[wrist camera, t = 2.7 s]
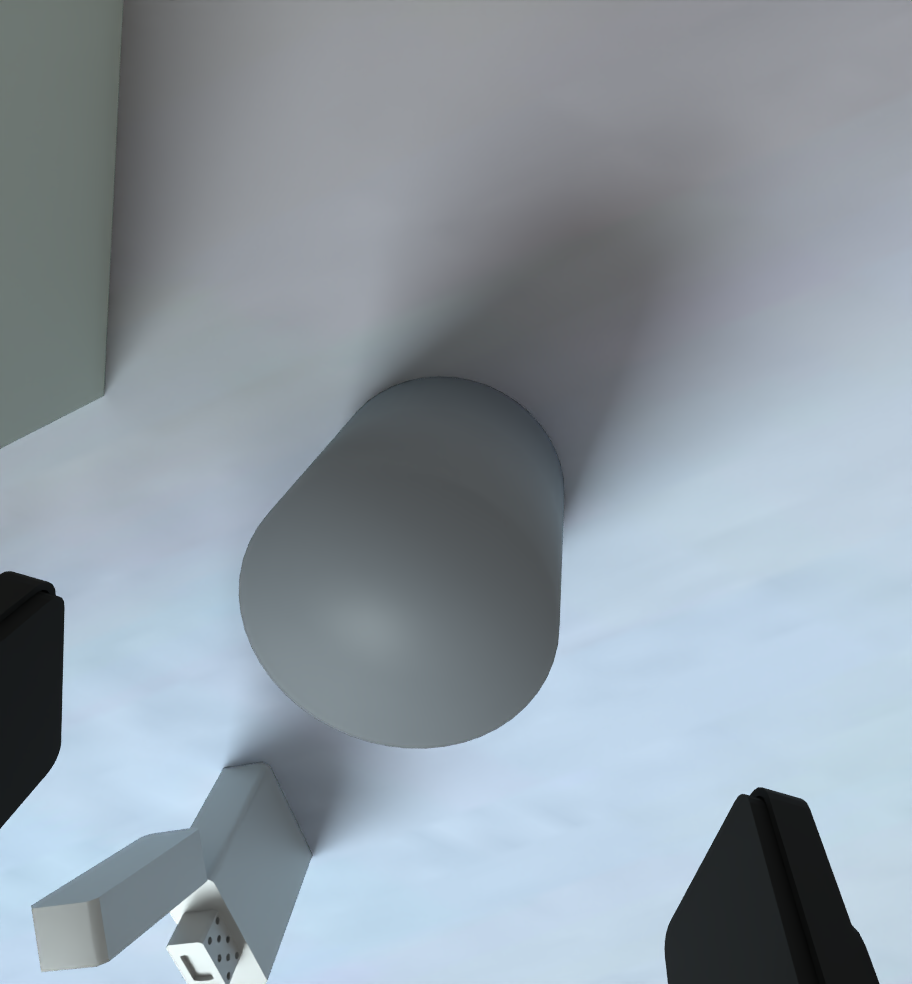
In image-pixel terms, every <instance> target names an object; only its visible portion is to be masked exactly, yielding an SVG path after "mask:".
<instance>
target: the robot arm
mask: <svg viewBox="0 0 912 984" xmlns="http://www.w3.org/2000/svg"><path fill="white" fill-rule="evenodd" d="M63 645H64V601H63V599H62V598H61V597H59V596H56V594H55V588H54V586H53V584H51V583H49V582H47V581H43V580H40V579H36V578H33V577H29V576H26V575H22V574H19V573H15V572H12V571H8V572H4V573H2V574H0V828H1V827H2V826H3V825H4V824H5V822H6V821H7V820H8V819H9V818H10V817H11V815H12V814H13V813H14V812H15V811H16V810H17V808H18V807H19V806H20V805H21V804H22V803H23V801H24V800H25V799H26V798H27V797H28V796H29V794H30V793H31V792H32V791H33V790H34V789H35V787H36V786H37V785H38V784H39V783H40V781H41V780H42V779H43V778H44V777H45V776H46V774H47V773H48V772H49V771H50V769H51V768H52V766H53V765H54V763H55V761H56V759H57V756H58V754H59V751H60V747H61V725H62V685H63ZM665 961H666V969H667V978H668V984H879V981H878V978H877V976H876V973H875V970H874V968H873V965H872V962H871V959H870V957H869V954H868V951H867V948H866V946H865V944H864V942H863V940H862V938H861V936H860V934H859V932H858V931H857V930H856V929H855V928H854V927H853V926H852V924H851V922H850V919H849V916H848V913H847V910H846V908H845V905H844V902H843V899H842V897H841V894H840V891H839V888H838V886H837V883H836V880H835V877H834V874H833V872H832V869H831V866H830V863H829V861H828V858H827V855H826V852H825V849H824V847H823V844H822V841H821V838H820V836H819V833H818V830H817V827H816V824H815V822H814V819H813V816H812V813H811V811H810V808H809V806H808V804H807V803H806V802H805V801H804V800H803V799H800V798H797V797H793V796H790V795H786V794H783V793H779V792H776V791H772V790H769V789H765V788H759V787H758V788H757V789H755V790H754V791H753V792H752V793H751V795H750V796H749V795H745V794H741V795H740V796H738V797H737V799H736V800H735V802H734V804H733V806H732V808H731V810H730V811H729V813H728V815H727V817H726V819H725V821H724V823H723V824H722V826H721V828H720V830H719V832H718V834H717V836H716V837H715V839H714V841H713V843H712V845H711V847H710V849H709V850H708V852H707V854H706V856H705V858H704V860H703V862H702V863H701V865H700V867H699V869H698V871H697V873H696V875H695V876H694V878H693V880H692V882H691V884H690V886H689V888H688V889H687V891H686V893H685V895H684V897H683V899H682V901H681V902H680V904H679V906H678V908H677V910H676V912H675V914H674V915H673V917H672V919H671V921H670V923H669V926H668V929H667V932H666V938H665Z"/></svg>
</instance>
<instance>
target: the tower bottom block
mask: <svg viewBox="0 0 912 984" xmlns="http://www.w3.org/2000/svg"><path fill="white" fill-rule="evenodd" d="M122 16H123V0H0V448H2V447H4V446H6V445H8V444H10V443H12V442H14V441H16V440H18V439H20V438H22V437H24V436H26V435H28V434H30V433H32V432H34V431H36V430H38V429H40V428H42V427H44V426H46V425H48V424H50V423H52V422H53V421H55V420H57V419H59V418H61V417H63V416H65V415H67V414H69V413H71V412H73V411H75V410H77V409H79V408H81V407H83V406H85V405H87V404H89V403H91V402H93V401H95V400H97V399H99V398H101V397H103V396H104V382H105V362H106V342H107V321H108V301H109V281H110V260H111V240H112V220H113V199H114V179H115V159H116V138H117V118H118V98H119V77H120V57H121V37H122Z"/></svg>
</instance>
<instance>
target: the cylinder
mask: <svg viewBox="0 0 912 984" xmlns="http://www.w3.org/2000/svg"><path fill="white" fill-rule="evenodd" d="M563 517H564V480H563V475H562V470H561V465H560V462H559V459H558V456H557V453H556V451H555V449H554V447H553V445H552V443H551V441H550V439H549V437H548V436H547V434H546V433H545V431H544V430H543V428H542V427H541V426H540V424H539V423H538V422H537V421H536V420H535V419H534V418H533V416H532V415H531V414H530V413H529V412H528V411H527V410H525V409H524V408H523V407H522V406H521V405H519V404H518V403H517V402H516V401H514V400H513V399H511V398H509V397H508V396H506V395H505V394H503V393H501V392H499V391H497V390H495V389H493V388H491V387H489V386H486V385H483V384H480V383H477V382H474V381H470V380H465V379H460V378H452V377H429V378H420V379H416V380H411V381H407V382H404V383H401V384H398V385H395V386H393V387H391V388H389V389H387V390H385V391H383V392H381V393H379V394H378V395H377V396H375V397H374V398H372V399H371V400H369V401H368V402H367V403H366V404H365V405H364V406H363V407H362V408H361V409H359V410H358V411H357V412H356V414H355V415H354V416H353V417H352V418H351V419H350V420H349V422H348V423H347V424H346V425H345V426H344V427H343V428H342V430H341V431H340V432H339V433H338V434H337V435H336V436H335V438H334V439H333V440H332V441H331V442H330V443H329V444H328V446H327V447H326V448H325V449H324V450H323V451H322V452H321V454H320V455H319V456H318V457H317V458H316V459H315V460H314V462H313V463H312V464H311V465H310V466H309V467H308V468H307V470H306V471H305V472H304V473H303V474H302V475H301V476H300V478H299V479H298V480H297V481H296V482H295V483H294V484H293V486H292V487H291V488H290V489H289V490H288V491H287V493H286V494H285V495H284V496H283V497H282V498H281V499H280V501H279V502H278V503H277V504H276V505H275V506H274V507H273V509H272V510H271V511H270V512H269V513H268V515H267V516H266V517H265V518H264V520H263V521H262V522H261V523H260V525H259V526H258V528H257V529H256V531H255V533H254V535H253V537H252V538H251V540H250V542H249V544H248V547H247V550H246V553H245V555H244V558H243V562H242V567H241V572H240V579H239V601H240V611H241V616H242V620H243V624H244V628H245V632H246V634H247V637H248V639H249V642H250V644H251V647H252V649H253V651H254V653H255V654H256V656H257V658H258V660H259V662H260V664H261V665H262V666H263V668H264V669H265V671H266V672H267V673H268V675H269V676H270V678H271V679H272V680H273V681H274V682H275V684H276V685H277V686H278V687H279V688H280V689H281V690H282V691H283V692H284V694H286V695H287V696H288V697H289V698H290V699H291V700H292V701H293V702H294V703H296V704H297V705H298V706H299V707H300V708H302V709H303V710H305V711H306V712H307V713H309V714H310V715H311V716H313V717H314V718H316V719H318V720H319V721H321V722H323V723H325V724H326V725H328V726H330V727H332V728H334V729H336V730H338V731H341V732H343V733H345V734H347V735H349V736H352V737H355V738H358V739H361V740H364V741H368V742H372V743H376V744H381V745H385V746H392V747H400V748H435V747H445V746H450V745H455V744H459V743H464V742H467V741H470V740H472V739H475V738H478V737H481V736H483V735H485V734H487V733H489V732H491V731H493V730H496V729H497V728H499V727H500V726H502V725H504V724H505V723H507V722H508V721H510V720H511V719H513V718H514V717H515V716H516V715H517V714H518V713H519V712H520V711H522V710H523V709H524V708H525V707H526V706H527V705H528V704H529V702H530V701H531V700H532V699H533V698H534V697H535V695H536V694H537V693H538V691H539V690H540V688H541V686H542V685H543V683H544V682H545V680H546V678H547V676H548V674H549V671H550V669H551V667H552V664H553V662H554V658H555V654H556V650H557V646H558V637H559V626H560V599H561V571H562V544H563Z"/></svg>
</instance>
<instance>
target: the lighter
mask: <svg viewBox="0 0 912 984" xmlns="http://www.w3.org/2000/svg"><path fill="white" fill-rule="evenodd" d="M311 857H312V853H311V851H310V849H309V847H308V845H307V843H306V841H305V838H304V836H303V834H302V832H301V830H300V828H299V826H298V824H297V822H296V820H295V817H294V815H293V813H292V811H291V809H290V807H289V805H288V803H287V801H286V799H285V796H284V794H283V792H282V790H281V788H280V786H279V784H278V782H277V780H276V777H275V775H274V773H273V771H272V769H271V767H270V765H268V764H266V763H264V762H260V763H254V764H247V765H241V766H235V767H228V768H223V770H222V772H221V773H220V775H219V777H218V779H217V781H216V782H215V784H214V786H213V788H212V790H211V791H210V793H209V795H208V797H207V799H206V800H205V802H204V804H203V806H202V808H201V809H200V811H199V813H198V815H197V817H196V818H195V820H194V822H193V824H192V826H191V827H190V828H189V829H182V830H175V831H168V832H161V833H154V834H149V835H146V836H143V837H141V838H139V839H138V840H136V841H134V842H133V843H131V844H130V845H128V846H126V847H125V848H123V849H122V850H120V851H118V852H117V853H115V854H113V855H112V856H110V857H109V858H107V859H105V860H104V861H102V862H101V863H99V864H97V865H96V866H94V867H93V868H91V869H89V870H88V871H86V872H84V873H83V874H81V875H80V876H78V877H76V878H75V879H73V880H72V881H70V882H68V883H67V884H65V885H64V886H62V887H60V888H59V889H57V890H56V891H54V892H52V893H51V894H49V895H47V896H46V897H44V898H43V899H41V900H39V901H38V902H36V903H35V904H33V905H31V907H32V914H33V921H34V927H35V934H36V941H37V947H38V954H39V961H40V967H41V972H47V971H57V970H67V969H77V968H87V967H97V966H99V965H102V964H104V963H106V962H109V961H110V960H111V959H113V958H114V957H115V956H116V955H118V954H119V953H120V952H121V951H122V950H124V949H125V948H126V947H127V946H129V945H130V944H131V943H132V942H133V941H135V940H136V939H137V938H138V937H140V936H141V935H142V934H143V933H144V932H146V931H147V930H148V929H149V928H151V927H152V926H153V925H154V924H155V923H157V922H158V921H159V920H160V919H162V918H163V917H164V916H165V915H167V914H168V913H169V912H170V914H171V916H172V917H173V919H174V921H175V923H176V924H177V927H176V929H175V931H174V933H173V935H172V937H171V939H170V941H169V943H168V945H167V947H166V949H167V951H168V952H169V954H170V956H171V957H172V959H173V961H174V962H175V964H176V966H177V967H178V969H179V971H180V972H181V974H182V976H183V977H184V979H185V981H186V982H187V984H265V983H266V982H267V980H268V977H269V975H270V972H271V969H272V966H273V963H274V961H275V958H276V955H277V952H278V950H279V947H280V944H281V941H282V938H283V936H284V933H285V930H286V927H287V924H288V922H289V919H290V916H291V913H292V910H293V908H294V905H295V902H296V899H297V896H298V894H299V891H300V888H301V885H302V882H303V880H304V877H305V874H306V871H307V869H308V866H309V863H310V860H311Z"/></svg>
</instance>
